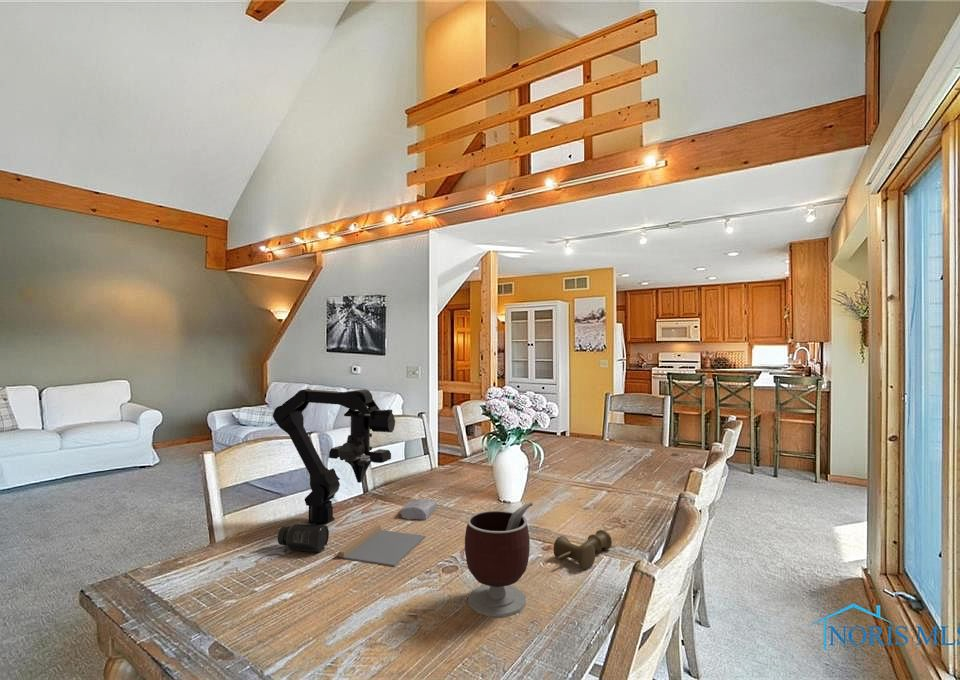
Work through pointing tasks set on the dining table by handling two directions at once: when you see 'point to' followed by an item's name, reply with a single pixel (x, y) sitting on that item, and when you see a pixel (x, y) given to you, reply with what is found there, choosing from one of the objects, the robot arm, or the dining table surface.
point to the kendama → (582, 548)
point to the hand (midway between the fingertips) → (359, 482)
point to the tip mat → (381, 546)
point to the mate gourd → (497, 560)
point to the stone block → (419, 509)
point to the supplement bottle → (304, 537)
